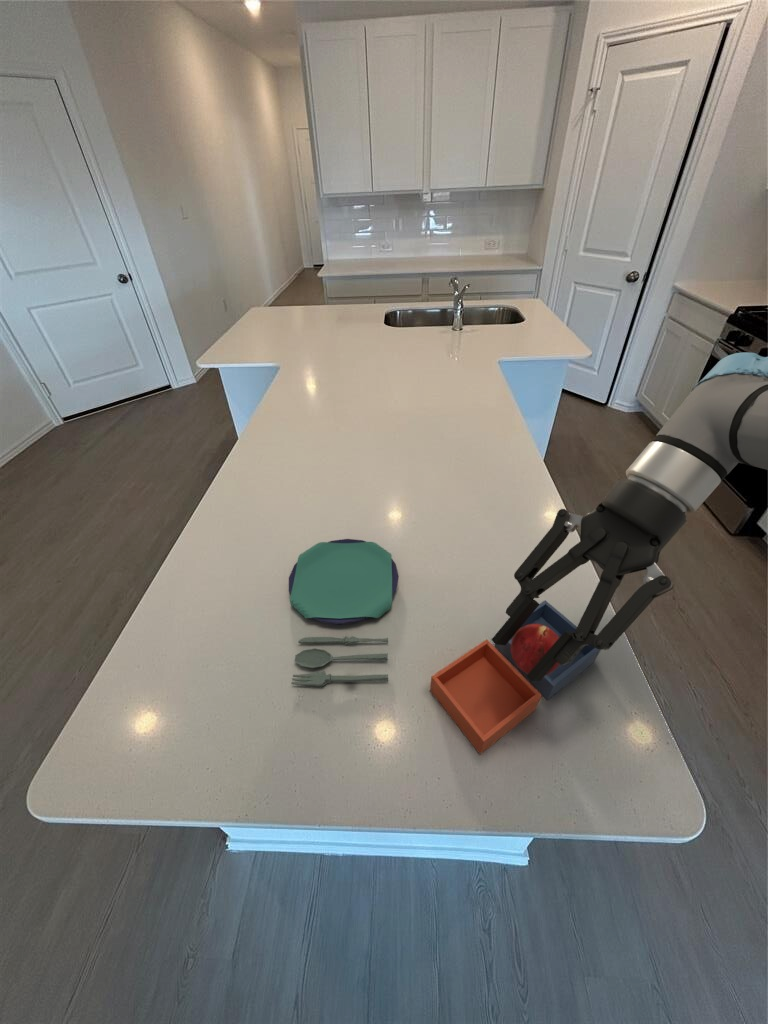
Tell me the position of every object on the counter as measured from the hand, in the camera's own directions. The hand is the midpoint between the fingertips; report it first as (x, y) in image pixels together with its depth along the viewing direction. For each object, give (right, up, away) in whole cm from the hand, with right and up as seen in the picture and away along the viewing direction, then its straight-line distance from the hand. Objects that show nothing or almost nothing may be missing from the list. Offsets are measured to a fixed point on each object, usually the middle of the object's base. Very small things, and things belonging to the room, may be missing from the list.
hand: (515, 659), depth 50 cm
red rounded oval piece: (+3, -2, +5) cm, 6 cm away
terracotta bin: (-1, -10, +13) cm, 17 cm away
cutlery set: (-22, 0, +27) cm, 35 cm away
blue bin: (+10, -5, +19) cm, 22 cm away
